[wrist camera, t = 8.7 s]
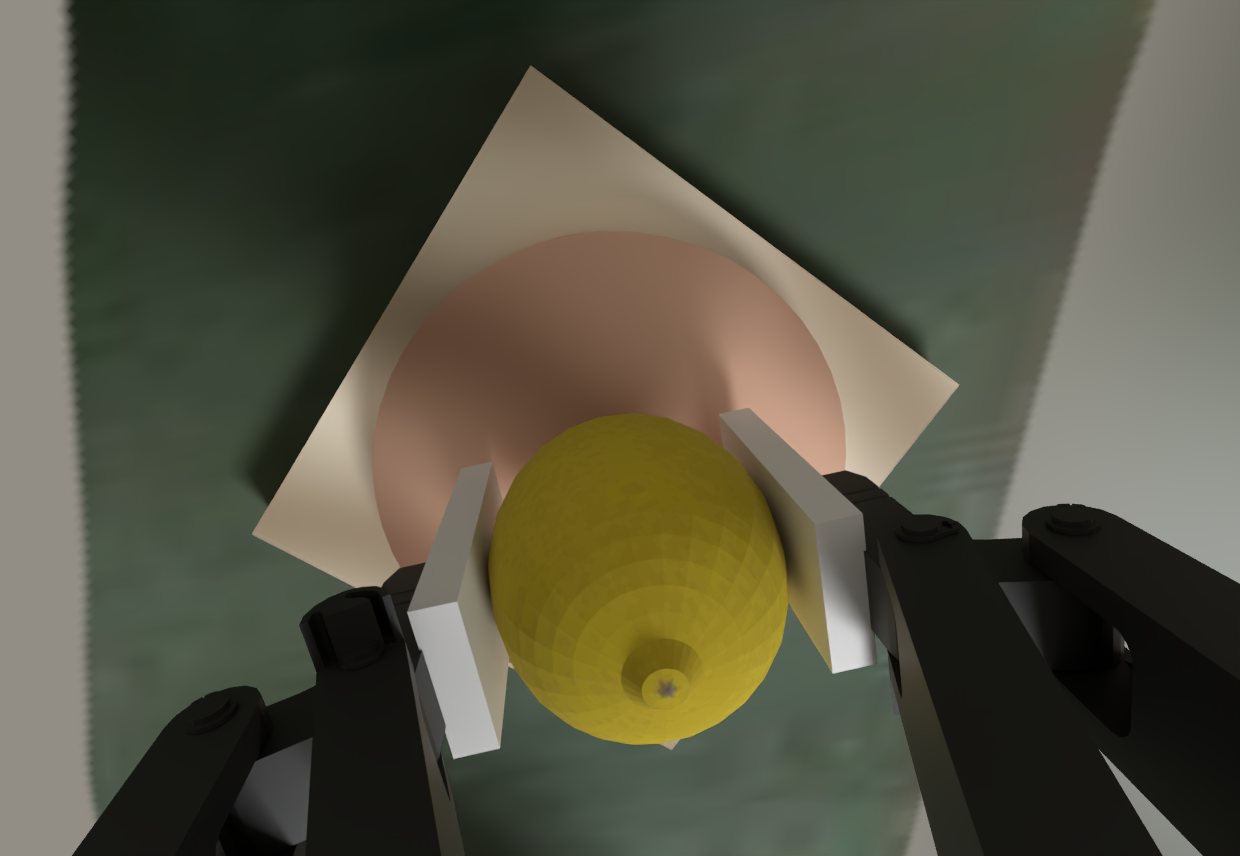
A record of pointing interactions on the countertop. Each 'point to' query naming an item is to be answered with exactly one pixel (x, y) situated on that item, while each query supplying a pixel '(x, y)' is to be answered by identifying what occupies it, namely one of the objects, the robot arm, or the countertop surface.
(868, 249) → the countertop surface
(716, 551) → the lemon
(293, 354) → the countertop surface
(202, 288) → the countertop surface
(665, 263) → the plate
